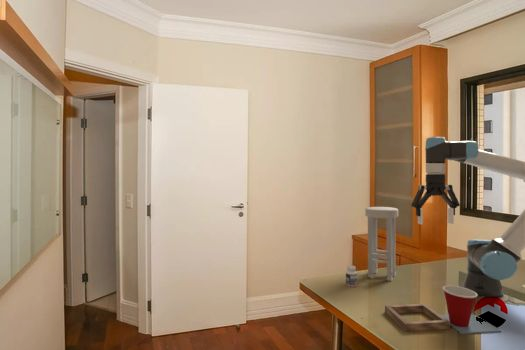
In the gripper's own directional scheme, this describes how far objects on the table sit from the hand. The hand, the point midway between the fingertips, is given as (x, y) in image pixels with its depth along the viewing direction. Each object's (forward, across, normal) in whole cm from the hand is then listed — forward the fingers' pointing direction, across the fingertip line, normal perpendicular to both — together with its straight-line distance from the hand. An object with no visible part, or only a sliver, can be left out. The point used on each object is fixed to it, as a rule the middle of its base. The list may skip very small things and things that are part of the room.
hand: (435, 223), depth 148 cm
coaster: (+32, +4, +25) cm, 41 cm away
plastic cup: (+31, +7, +26) cm, 41 cm away
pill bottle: (+32, +30, -20) cm, 48 cm away
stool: (+32, +10, -31) cm, 46 cm away
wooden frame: (+32, +20, +20) cm, 42 cm away
